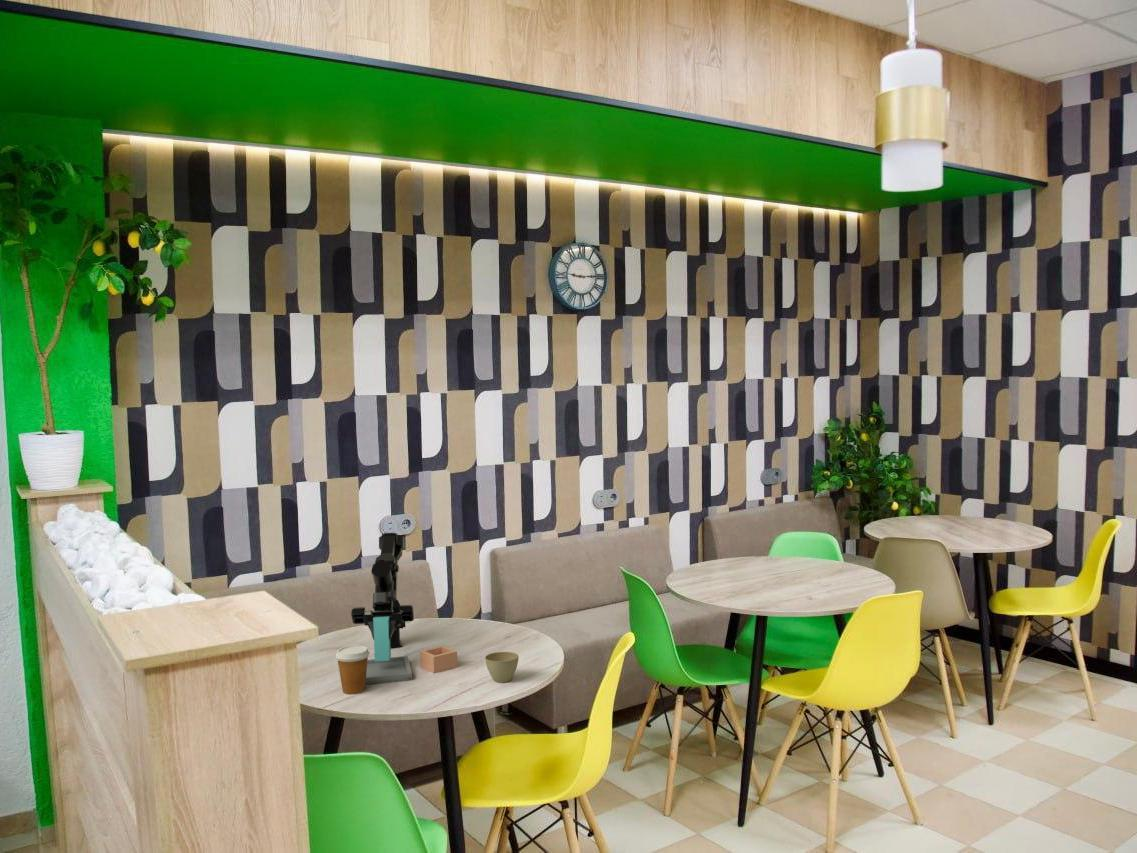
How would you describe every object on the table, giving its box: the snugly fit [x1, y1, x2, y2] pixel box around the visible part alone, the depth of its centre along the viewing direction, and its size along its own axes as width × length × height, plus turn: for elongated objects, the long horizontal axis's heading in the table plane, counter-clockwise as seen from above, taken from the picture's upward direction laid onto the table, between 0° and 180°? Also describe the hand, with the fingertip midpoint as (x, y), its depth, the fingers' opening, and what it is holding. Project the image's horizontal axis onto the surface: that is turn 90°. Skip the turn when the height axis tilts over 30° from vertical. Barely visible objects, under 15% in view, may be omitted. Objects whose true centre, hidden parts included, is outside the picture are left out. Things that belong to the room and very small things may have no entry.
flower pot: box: [484, 651, 519, 683], centre depth 271 cm, size 10×10×7 cm
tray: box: [365, 655, 413, 686], centre depth 280 cm, size 18×16×2 cm
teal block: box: [373, 616, 392, 661], centre depth 280 cm, size 4×4×12 cm
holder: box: [419, 645, 458, 674], centre depth 285 cm, size 8×8×5 cm
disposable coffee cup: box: [335, 645, 370, 695], centre depth 265 cm, size 10×10×12 cm
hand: (381, 638), depth 279 cm, fingers closed on teal block, 4 cm apart
